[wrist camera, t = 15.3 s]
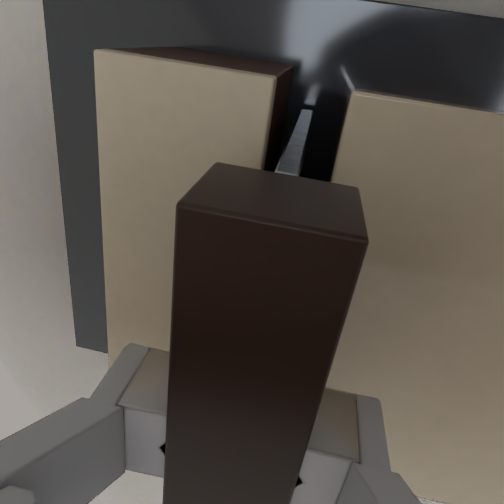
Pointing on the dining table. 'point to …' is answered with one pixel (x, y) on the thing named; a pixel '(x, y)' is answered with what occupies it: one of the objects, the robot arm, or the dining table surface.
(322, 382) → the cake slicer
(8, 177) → the dining table surface
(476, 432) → the cake
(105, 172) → the cake slice
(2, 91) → the dining table surface
